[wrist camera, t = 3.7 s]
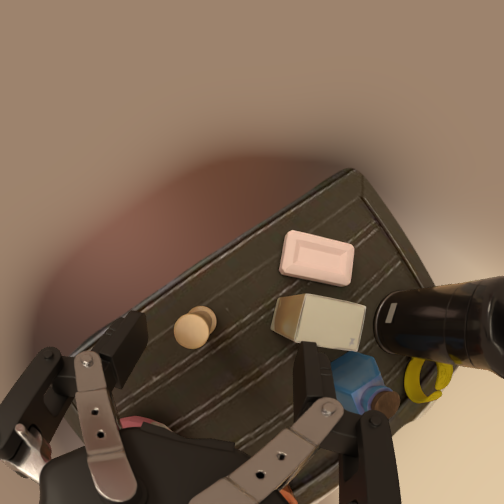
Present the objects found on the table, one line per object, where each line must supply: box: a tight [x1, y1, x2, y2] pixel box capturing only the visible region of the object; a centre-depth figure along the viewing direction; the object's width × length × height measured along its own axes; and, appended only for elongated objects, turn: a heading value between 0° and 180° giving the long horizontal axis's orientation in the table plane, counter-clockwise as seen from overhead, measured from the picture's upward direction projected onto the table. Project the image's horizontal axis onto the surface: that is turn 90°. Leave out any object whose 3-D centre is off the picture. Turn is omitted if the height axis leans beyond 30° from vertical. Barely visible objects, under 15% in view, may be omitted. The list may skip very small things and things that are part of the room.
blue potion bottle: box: [331, 351, 400, 419], centre depth 27 cm, size 6×6×12 cm
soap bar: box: [279, 230, 354, 287], centre depth 35 cm, size 5×9×2 cm, turn 79°
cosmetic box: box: [271, 294, 366, 352], centre depth 28 cm, size 6×4×12 cm
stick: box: [174, 306, 217, 349], centre depth 26 cm, size 4×4×14 cm
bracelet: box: [404, 358, 453, 403], centre depth 31 cm, size 7×8×3 cm
